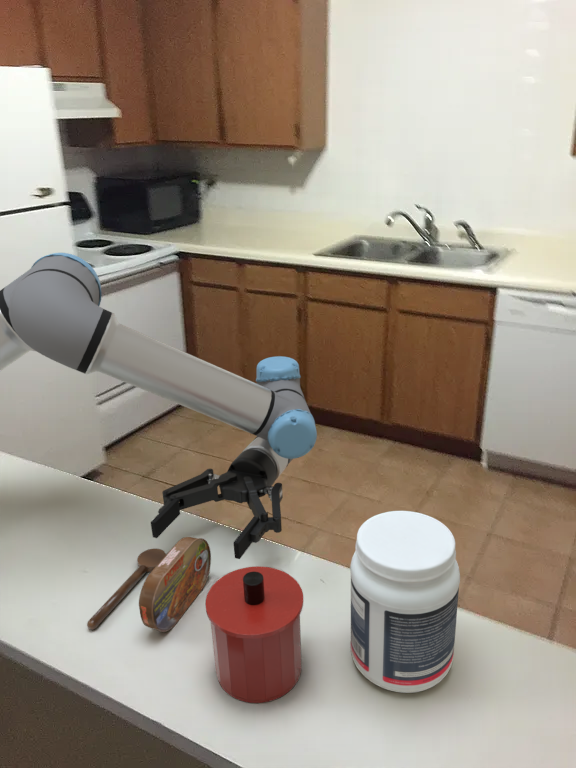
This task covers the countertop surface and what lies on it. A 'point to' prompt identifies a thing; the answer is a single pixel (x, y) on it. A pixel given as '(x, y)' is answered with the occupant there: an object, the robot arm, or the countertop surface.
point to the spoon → (128, 584)
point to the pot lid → (254, 602)
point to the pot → (258, 664)
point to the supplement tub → (404, 601)
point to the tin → (174, 583)
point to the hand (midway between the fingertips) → (193, 540)
